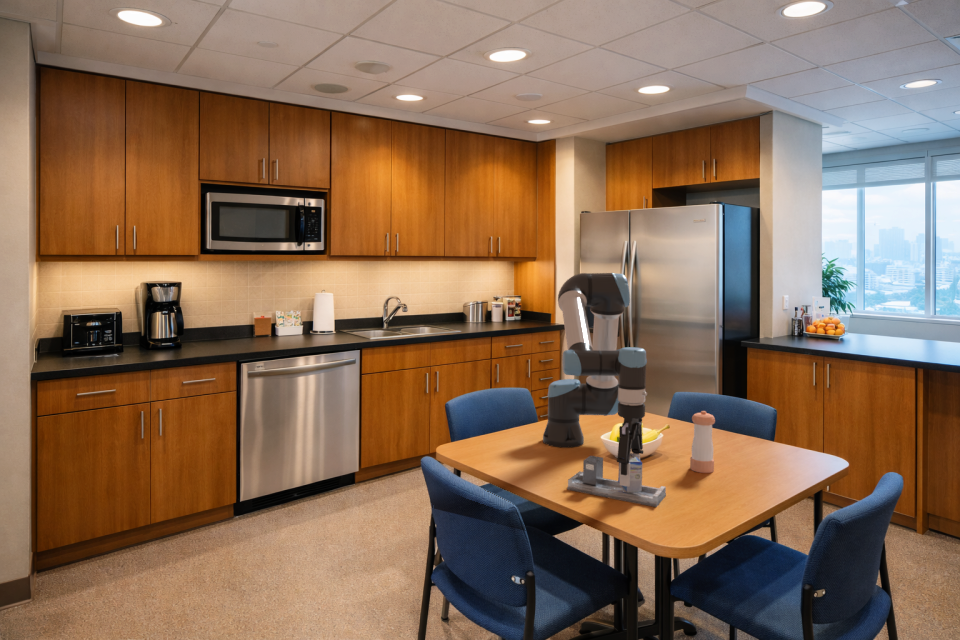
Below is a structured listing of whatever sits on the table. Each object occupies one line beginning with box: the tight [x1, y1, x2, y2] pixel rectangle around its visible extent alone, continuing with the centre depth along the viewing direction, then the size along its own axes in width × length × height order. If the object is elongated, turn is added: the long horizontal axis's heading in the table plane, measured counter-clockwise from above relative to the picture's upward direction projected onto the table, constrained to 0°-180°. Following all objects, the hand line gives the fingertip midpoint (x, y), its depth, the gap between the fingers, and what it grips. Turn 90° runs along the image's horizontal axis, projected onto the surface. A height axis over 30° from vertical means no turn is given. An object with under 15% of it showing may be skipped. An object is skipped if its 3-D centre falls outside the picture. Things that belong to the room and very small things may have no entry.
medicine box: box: [617, 454, 643, 492], centre depth 175 cm, size 8×4×9 cm, turn 5°
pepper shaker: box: [689, 410, 716, 474], centre depth 198 cm, size 7×7×19 cm
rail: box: [566, 455, 667, 508], centre depth 177 cm, size 26×10×9 cm, turn 59°
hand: (629, 480), depth 175 cm, fingers closed on medicine box, 9 cm apart
